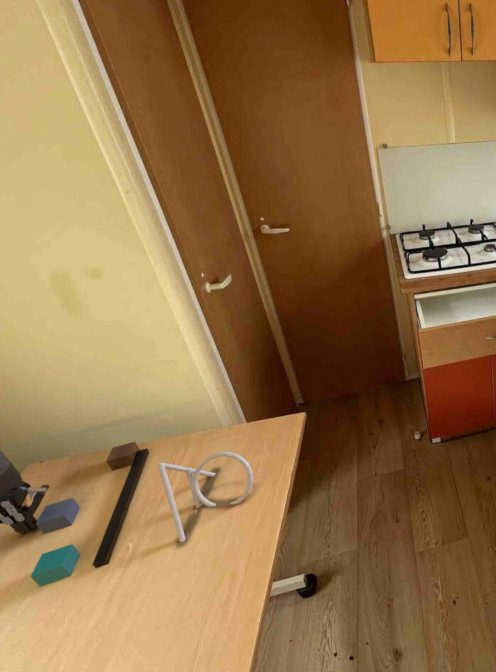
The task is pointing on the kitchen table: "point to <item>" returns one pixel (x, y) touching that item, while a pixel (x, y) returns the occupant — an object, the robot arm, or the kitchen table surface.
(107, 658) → the kitchen table surface
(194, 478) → the wire frame
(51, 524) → the slate block
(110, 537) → the straightedge
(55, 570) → the teal block
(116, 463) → the walnut block
